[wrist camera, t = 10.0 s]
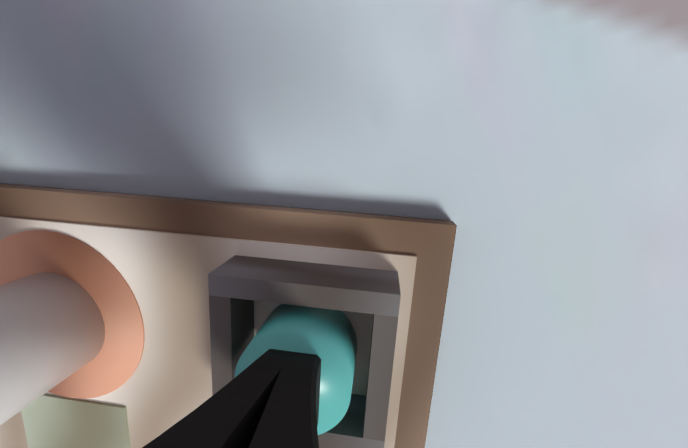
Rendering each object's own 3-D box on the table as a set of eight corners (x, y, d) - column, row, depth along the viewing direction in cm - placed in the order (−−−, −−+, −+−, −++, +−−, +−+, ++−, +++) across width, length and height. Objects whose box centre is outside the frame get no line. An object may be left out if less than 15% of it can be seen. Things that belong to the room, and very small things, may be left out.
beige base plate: (5, 486, 15) (-64, 546, 12) (-65, 178, 11) (-174, 184, 9) (403, 562, 13) (408, 649, 11) (452, 221, 10) (472, 242, 7)
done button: (262, 377, 10) (235, 428, 9) (263, 292, 10) (233, 326, 8) (354, 389, 10) (347, 445, 8) (360, 303, 9) (355, 342, 8)
